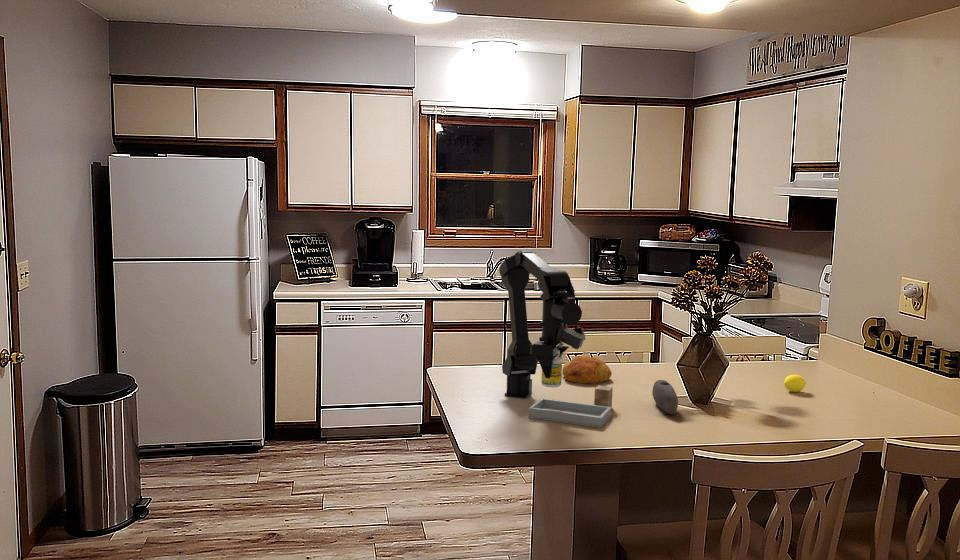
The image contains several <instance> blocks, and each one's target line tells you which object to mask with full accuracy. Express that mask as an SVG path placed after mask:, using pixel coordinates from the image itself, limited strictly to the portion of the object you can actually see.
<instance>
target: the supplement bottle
mask: <svg viewBox="0 0 960 560" xmlns="http://www.w3.org/2000/svg"><path fill="white" fill-rule="evenodd" d="M556 354H559V355H558V356H557V357H556V358H554V360H553V365H552V371H551V376H550V378H546V377H545V375H544V372H543V370H542V369H541V386H543V387H546V388H559V387H561V385H562V377H563V373H562V372H563V359H562V357H561V358H560V357H559V356H560V350H558V349H557V353H556Z"/></svg>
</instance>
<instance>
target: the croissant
mask: <svg viewBox="0 0 960 560" xmlns="http://www.w3.org/2000/svg"><path fill="white" fill-rule="evenodd" d="M611 370H612V369H610V367H609V366H608V365H607V364H606V362H605V361H603V360H601V359H599V358H596V357H593V356H582V355H577V356H574V357H573V358H572V359H570V360H569V361H567V362H565V363H564V365H563V366H562V376H563V377H564V380H565V381H569V382H571V383H578V384H585V385H586V384H590V385H596V384H599V383H603V382H606V381H608V380H610V378H611V377H612V371H611Z"/></svg>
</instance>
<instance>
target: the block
mask: <svg viewBox="0 0 960 560" xmlns="http://www.w3.org/2000/svg"><path fill="white" fill-rule="evenodd" d="M613 388H614V387H613V386H606V385H600V384H599V385H597V386H596V387H595V388H594V399H593V400H594V401H593V403H594V404H593V405H598V406H606V407H611V409H612V408H613Z"/></svg>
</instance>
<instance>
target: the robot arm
mask: <svg viewBox="0 0 960 560" xmlns="http://www.w3.org/2000/svg"><path fill="white" fill-rule="evenodd" d="M530 275H532V276H533V277H534V278H535V279H536V280H537V286H538V288H539V289H540V290H541V295H540V296H539V297H540V299H542V319H541V320H542V321H540V322H539V326H540V327H541V335H540V337H539V341H536V342H534V343H532V341H531V340H530V339H529V336H530V335H529V327H528V325H529V324H528V315H527V314H528V313H527V302H526V301H527V300H526V287H527V286H528V283H529V282H530ZM499 276H500V279H501V283H502V285H503V286H504V287H505V289H506V290H507V293H508V306H509V318H510V320H509V321H510V328H511V329H510V330H511V331H510V332H511V343H510V344H509V346H508V348H507V357H506V358H505V360H504V362H503V364H502V365H501V368H502V369H501V370H502V374H504V375H506V392H505V393H504V396H506V397H515V398H522V399H526V398H527V397H528V396H530V395H532V394H533V379H532V378H531V375H536V372H537V367H538V363H539V365H540V367H541V371H542V370H543V372H544V375H545V377H546V378H550V376H551V371H552V365H553V360H554V358H556V357H557V356H558V355H559V354H556V353H557V349H558V350H560V356H559V357H560V358H561V359H562V356H563V353H565V352H566V351H568V350H569V348H570V347H571V348H572V349H575V350H579V349H580V348H582V346H583V343H584V341H585V340H586V334H585V330H584V328H582V327H581V326H578V327H576V328H575V329H574V328H569V327H568V325H570V326H572V325H573V326H575V325H576V324H578V323H579V322H580V320H581V318H582V315H583V311H582V308H581V307H580V305H579V304H578V303H576V294H575V291H576V290H575V288H574V285H573V283H572V282H571V281H572V280H571V278H570V276H569V273H568V272H567V271H566V270H563V269H562V268H556V267H552V266H551V265H549V264H548V263H546V262H545V260H543V259H542V258H540V257H539V256H538V255H537V254H536V252H535V251H533V250H519V251H517V252H516V253H515V254H514V255H510V257H507V258H505V259H504V260H503V261H502V263H501V264H500V266H499ZM565 344H566V345H567V346H565Z"/></svg>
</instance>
